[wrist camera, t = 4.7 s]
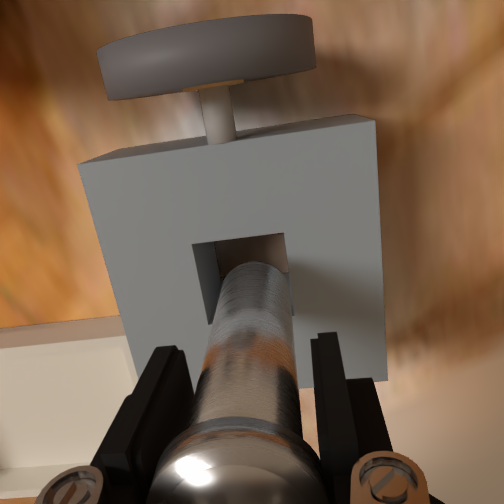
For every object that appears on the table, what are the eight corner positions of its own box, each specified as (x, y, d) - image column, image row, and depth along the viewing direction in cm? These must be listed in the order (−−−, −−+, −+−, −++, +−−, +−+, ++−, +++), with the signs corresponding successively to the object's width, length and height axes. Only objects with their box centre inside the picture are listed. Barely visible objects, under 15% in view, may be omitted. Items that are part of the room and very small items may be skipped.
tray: (142, 312, 26) (129, 335, 23) (180, 455, 29) (172, 486, 27) (-73, 336, 27) (-106, 360, 25) (-11, 470, 31) (-35, 501, 28)
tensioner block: (347, 25, 20) (395, -18, 12) (367, 327, 25) (409, 435, 17) (98, 68, 21) (-9, 54, 13) (167, 347, 26) (121, 457, 19)
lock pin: (294, 246, 17) (322, 440, 8) (303, 326, 18) (338, 578, 9) (204, 258, 17) (125, 456, 8) (219, 335, 19) (167, 586, 9)
